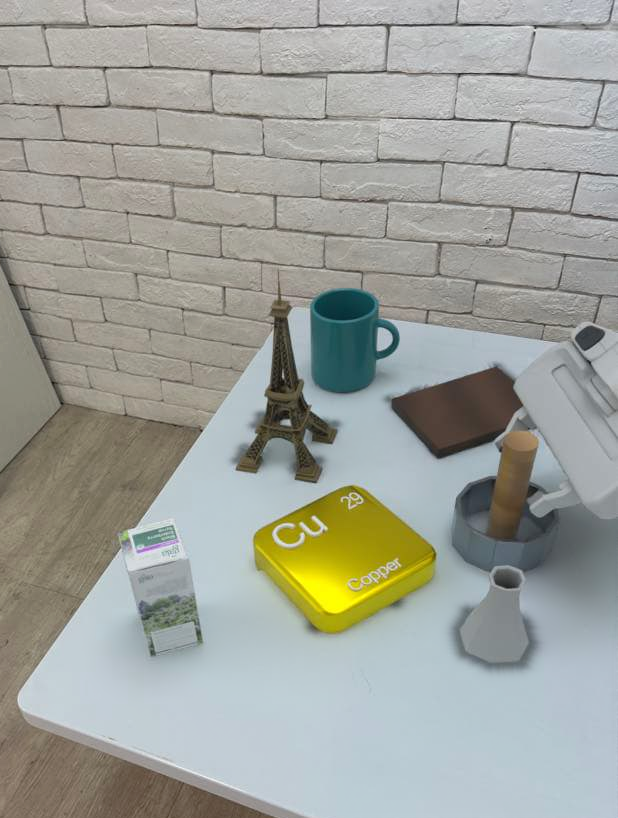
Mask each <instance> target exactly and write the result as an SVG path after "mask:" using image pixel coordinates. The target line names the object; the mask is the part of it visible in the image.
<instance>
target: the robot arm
mask: <svg viewBox="0 0 618 818" xmlns="http://www.w3.org/2000/svg"><path fill="white" fill-rule="evenodd" d="M569 334H570V335H569V337H570V339H571V340H563V341H560V342H558V343H556V344H555V345H553V346H552V347H550V348H549V349H548V350H547V351H545V352H544V353H542V354H541V355H540V356H539V357H538V358H536V359H535V360H534V361H533V362H531V363H530V364H529V365H528V366H527V367H526V368H525V369H524V370H522V371H521V372H520V373H519V375H518V376H517V377H516V380H515V384H514V386H513V389H514V391H515V393H516V394H517V396H518V397H519V399H520V401H521V402H522V404H523V407H522V408H520V409H519V410H518V411H517V412H515V414H514V415H513V417H512V419H511V421H510V423H509V425H508V426H507V428H506V431H505V432H504V433H502V434H501V435H500V436H499V437H497V438H496V439H495V440H493V443H494V445H495V447H496V449H497V451H498V452H499V453H500V454H501V452H502V446H503V441H504V437H505V436H506V435H507V434H508V433H509V432H512V431H518V430H520V431H527V430H529V429H528V427H529V428H530V430H533V429H535V428H536V429H537V430H538V432H539V434H540V435H541V437H542V439H543V440H544V442H545V443H546V445H547V447H548V449H549V450H550V452H551V454H552V455H553V457H554V458H555V460H556V462H557V463H558V465H559V466H560V469H561V470H562V471H563V473H564V475H565V476H566V478H567V479H565V481H563V482H561V483H560V484H559V485H558V488H559V489H560V490H557V491H553V492H548V493H549V494H545V495H544V494H543V493H542V492H541V491H540V490H539V491H537V492H536V493H534V494H533V496H532V497H529V498H528V499H527V500H526V503H527V505H528V507H529V509H530V511H531V513H532V514H534V515H535V516H536V517H543V516H544V515H546V514H547V513H549V512H550V511H551V510H553V509H554V508H556V509H557V508H558V509H562V508H568V507H574V506H578V505H579V504H581V503H582V504H583V506H584V507H585V508H586V509H587V510H588V511H590V512H591V513H592V514H593V515H595V516H596V517H597V518H599V519H601V520H615V519H618V332H617V331H614V330H611V329H609V328H605V327H603V326H601V325H598V324H597V323H595V322H594V323H593V322H591V321H587V320H586V321H583V322H581V323H579V324H578V325H576V327H574V328H573V329H572V331H571V332H570V333H569Z"/></svg>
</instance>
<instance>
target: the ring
mask: <svg viewBox="0 0 618 818" xmlns="http://www.w3.org/2000/svg"><path fill="white" fill-rule="evenodd" d="M496 477H497V475H489V476H485V477H482V478H480V479H477V480H474V481H471V482H468V483H467V484H466V485H465V486H464V488H463V489H462V490H461V491H460V492H459V493H458V494H457V496H456V497H455V502H454V509H453V514H452V515H453V516H452V521H451V529H450V530H451V545H452V547H453V548H454V550H455V551H456V552H457V553H458V555H460V557H461V558H462V559H463V561H464V562H465V563H468V564H469V565H472V566H474V567H476V568H478V569H480V570H482V571H485V572H487V573H488V574H490V573H491V571H492V570H493V568H494V567H495V566H506V565H509V566H512V567H515V568H517V569H520V570H522V571H523V573H525V572H528V571H531V570H533V569H537V568H539V567H541V566H542V564H543V563H544V562H545V560H546V559H547V558H548V556H549V555H550V553H551V552H552V549H553V547H554V546H553V545H554V543H555V539H556V535H557V531H558V528H559V524H560V520H561V518H560V510H559V508H557V509H556V508H554V509H553V510H551V511H550V512H549V513H547V514H546V515H544V516H543V517H536V516H535V515H534V514H532V513H531V511H530V509H529V507H528V505H527V503H526V500H527V499H528V498H529V497H532V496H533V494H534V493H536V492H537V491H539V490H540V491H541V492H542V493H543V494H544V495H545V494H549V493H550V492H548V491H547V490H546V489H545V488H544V487H543V486H541V485H540V484H537V483H534V482H531V481H530V483H529V487H528V491H527V496H526V500H525V504H524V508H523V513H522V517H525V518H526V519H529V520H530V521H531V522H532V523H533V524H534V525H535V526H536V527H537V528H538V529H539V530H540V531H541V532H542V533H540V534H537V535H533V536H531V537H528V538H525V539H516V540H511V539H497V538H494V537H492V536H490V535H487V534H486V532H484V531H483V532H482V531H480V530H478V529H475V527H474V526H473V525H472V524H471V523H470V522H469V521H468V520H467V519H466V518H467V517H468V516H471V515H474V514H476V513H480V512H483V511H486V510H489V511H490V508H491V503H492V498H493V493H494V488H495V482H496Z"/></svg>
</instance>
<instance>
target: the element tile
mask: <svg viewBox="0 0 618 818" xmlns="http://www.w3.org/2000/svg"><path fill="white" fill-rule="evenodd" d="M252 544H253V545H252V546H253V552H254V553H253V556H254V563H255V567H256V569H257V571H258V572H260V571H263V572H264V573H265V574H266V575H267V576H268V577H269V578H270V579H271V580H272V581H273V583H274V584H275V586H277V588H279V589H280V590H281V591H282V593H283V594H284V595H285V596H286V597H287V598H288V599H289V600H290V601H291V602H292V603H293V605H294V606H295V607H296V608H297V609H298V610H299V611H300V612H301V613H302V614H303V615H304V616H305V618H306V619H307V620H308V621H309V623H311V624H312V626H314V627H315V628H317V630H318V631H321V632H323V633H326V634H332V635H333V634H338V633H341V632H344V631H347V630H348V629H350V628H351V627H353V626H355V625H356V624H357V625H358V623H360V622H362V621H364V620H366V619H368V618H369V617H371V616H373V615H375V614H376V613H378V612H379V611H381V610H384V609H386V608H387V607H388V606H390V605H393V603H395V602H397V601H399V600H400V599H403V598H404V597H407V596H408V595H409V594H411V593H413V592H415V591H416V590H418V589H420V588H422V587H423V586H425V585H427V584H428V583H430V582H431V581H432V580H433V578H434V576H435V569H436V563H437V562H436V561H437V552H436V550H435V548H434V546H432V544H431V543H429V542H428V541H427V540H426V539H425V538H424V537H422V536H421V535H420V534H419V533H418V532H416V531H415V530H414V529H413V528H411V527H410V526H409V524H407V523H406V522H404V520H402V519H401V518H400V517H399V516H398V515H396V514H395V513H394V512H393V511H392V510H390V508H388V507H387V506H386V505H385V504H384V503H382V502H381V501H380V500H379V499H378V498H376V497H375V496H374V495H373V494H372V493H370V492H369V491H368V490H367V489H365V488H363V487H361V486H358V485H356V484H355V485H354V484H352V485H351V484H350V485H347V486H346V485H345V486H342V487H339V488H338V489H336V490H333V491H331V492H329V493H328V494H325V495H324V496H322V497H320V498H317V499H316V500H313V501H311V502H310V503H307V504H306V505H303V506H302V507H300V508H298V509H296V510H294V511H292V512H289V513H288V514H285V515H284V516H282V517H280V518H278V519H275V520H273V521H272V522H270V523H268V524H266V525H264V526H262V527H260V528H259V529H258V530H257V531H256V532H255V533H254V534H253V537H252Z"/></svg>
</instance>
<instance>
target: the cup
mask: <svg viewBox="0 0 618 818" xmlns="http://www.w3.org/2000/svg"><path fill="white" fill-rule="evenodd" d="M379 315H380V303H379V299H378V298H377V297H376V296H375V295H374V294H373V293H371V292H369V291H368V290H367V291H366V290H363V289H360V288H353V287H340V288H333V289H330V290H326V291H324V292H321V293H320V294H318V295H317V296H315V297H314V298H313V299H312V301H311V302H310V305H309V320H310V321H309V323H310V327H309V329H310V373H311V378H312V380H313V382H314V383H315V384H316V385H318V386H319V387H320V388H322V389H324V390H326V391H329V392H335V393H349V392H350V393H351V392H355V391H358V390H361V389H364V388H365V387H366V386H368V385H369V384H370V383H372V382H373V380H374V379H375V376H376V374H377V361H378V360H383V359H386V358H388V357H390V356H391V355H392V354H393V353H394V352H396V350H397V349H398V347H399V345H400V339H401V336H400V331H399V329H398V327H397V326H396V325H395V324H394V323H393V322H392V321H389V320H387V319H385V318H381V317H380V316H379ZM379 328H381V329H385V330H387V331H388V332H389V333H390V334H391V336H392V341H391V343H390V344H389V345H388V346H387V347H386V348H384V349H381V350H378V334H379Z"/></svg>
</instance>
